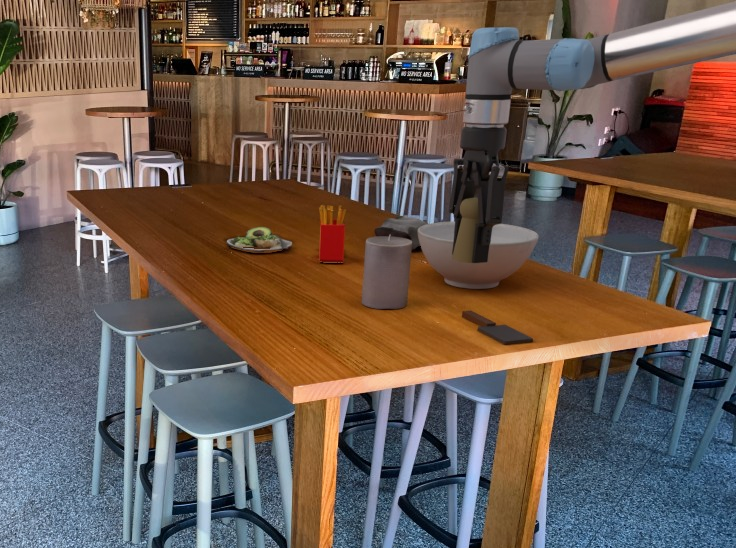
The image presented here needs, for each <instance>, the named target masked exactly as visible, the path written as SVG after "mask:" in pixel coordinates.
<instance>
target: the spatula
mask: <svg viewBox="0 0 736 548" xmlns="http://www.w3.org/2000/svg"><path fill="white" fill-rule="evenodd" d="M461 317H462V318H463V319H465V320H468V321H469V322H472V323H473V324H475V325H477V331H478V332H479V333H481V334H483V335H485V336H487V337H489V338H491V339H492V340H494V341H496V342H498V343H500V344H502V345H504V346H507V345H516V344H527V343H534V338H533V337H531V336H529V335H527V334H525V333H524V332H521V331H519V330H517V329H515V328H513V327H511V326H509V325H507V324H497V322H495V321H493V320H491V319H489V318H488V317H485V316H483V315H481V314H479V313H477V312H475V311H474V310H462V311H461Z"/></svg>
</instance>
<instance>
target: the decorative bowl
mask: <svg viewBox="0 0 736 548" xmlns="http://www.w3.org/2000/svg"><path fill="white" fill-rule="evenodd" d="M454 228H455V220H453V221H440V222H432V223H428V224H427V225H423V226H421V227H419V228H418V238H419V242H420V246H421V247H420V246H419V247H420V249H421V252H422V253H423V256H424V258H425V259H426V261H427V262H428V264H429V265H430V266H431V267H432V269H433V270H434V271H435V272H437V274H439V275H441V276H442V277H443V279H444V282H445V283H446V284H447V285H449V286H452V287H456V288H461V289H462V288H463V289H470V290H486V289H492V288H493V289H494V288H496V287H498V286H499V284H500V281H502V280H505V279H507V278H508V277H510V276H512V275H513V274H514V273H516V272H517V271H518V270H519V269H520V268H521V267H522V266H524V264H525V263H526V261H527V260H528V259H529V258H530V256H531V254H532V252H533V251H534V249H535V247H536V245H537V243H538V241H539V238H540V237H539V233H537V232H536V231H534V230H532V229H529V228H526V227H523V226H518V225H512V224H508V223H501V224H497V225H494V226H493V228H492V235H491V242H490V245H489V253H488V261H487V262H484V263H463V262H458V261H455V260H453V259H452V256H453V255H452V250H453V241H454Z"/></svg>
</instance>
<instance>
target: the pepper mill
mask: <svg viewBox="0 0 736 548" xmlns="http://www.w3.org/2000/svg"><path fill="white" fill-rule="evenodd" d="M460 213H461V215H462V219H461V224H460V228H459V232H458V236H457V240H456V244H455V248H454V252H453V256H452V259H453V260H455V261H458V262H463V263H472V256H473V247H474V238H475V230H476V224H478V223H479V209H478V197H474V198H468V199H465V200H463V201H462V203H461V205H460ZM485 219H486V218H485Z"/></svg>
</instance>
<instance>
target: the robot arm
mask: <svg viewBox="0 0 736 548" xmlns="http://www.w3.org/2000/svg"><path fill="white" fill-rule="evenodd" d="M734 55H736V0H734V1H730V2H726V3H722V4H719V5H716V6H711V7H707V8H704V9H700V10H696V11H692V12H688V13H684V14H681V15H676V16H672V17H669V18H664V19H662V20H657V21H653V22H649V23H646V24H642V25H638V26H634V27H631V28H626V29H623V30H619V31H614V32H611V33H608V34H602V35H599V36H595V37H591V38H587V39H585V38H574V37H573V38H571V37H564V38H554V39H531V40H527V39H520V32H519V29H518V28H517V27H511V26H509V27H507V26H505V27H503V26H502V27H479V28H477V29H475V31H474V32H473V33H472V36H471V41H470V48H469V53H468V57H467V60H468V62H467V63H468V65H467V76H466V86H465V94H464V106H463V107H462V109H463V115H462V123H463V124H465V126H463V127H462V128H461V130H460V139H459V147H460V149H461V150H464V151H465V152H464V156H463V157H461V158H454V159H453V177H452V183H451V190H450V191H451V192H450V197H449V206H448V213H449V214H452V215H453V218H454V219H455V220H454V221H455V228H454V241H453V250H452V255H453V252H454V248H455V244H456V240H457V236H458V232H459V228H460V224H461V219H462V215H461V213H460V205H461V203H462V201H463V200H465V199H468V198H475V195H476V192H477V198H478V209H479V223H478V224H476V230H475V238H474V247H473V256H472V263H484V262H487V261H488V253H489V245H490V242H491V235H492V228H493V226H494V225H497V224H503V223H502V222H503V212H504V201H505V190H506V180H507V177H508V173H509V165H501V164H500V163H499V152H500V151H502V150H504V149H505V147H506V140H507V133H508V129H507V127H505V125H507V124H509V121H510V120H509V118H510V112H511V111H510V110H511V101H512V92H513V90H535V91H536V90H537V91H556V92H565V91H566V92H567V91H579V90H585V89H591V88H594V87H596V86H597V85H601V84H606V83H610V82H614V81H618V80H623V79H627V78H633V77H637V76H641V75H646V74H650V73H655V72H659V71H664V70H669V69H674V68H678V67H684V66H687V65H691V64H696V63H697V64H698V63H701V62H705V61H710V60H714V59H715V60H716V59H719V58H725V57H729V56H734ZM485 218H486V219H485Z"/></svg>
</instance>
